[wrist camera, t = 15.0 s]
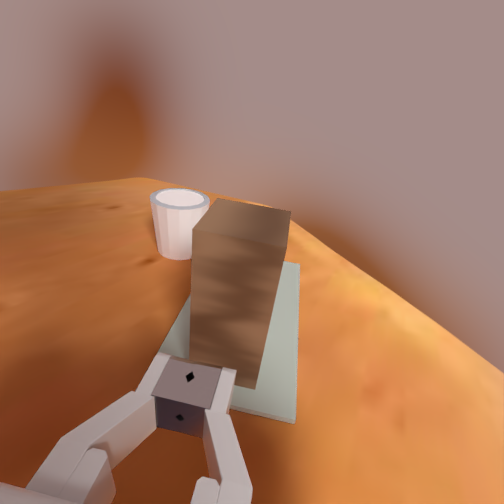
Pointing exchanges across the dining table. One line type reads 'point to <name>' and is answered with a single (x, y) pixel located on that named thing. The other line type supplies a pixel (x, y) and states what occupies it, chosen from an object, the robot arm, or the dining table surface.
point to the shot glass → (177, 220)
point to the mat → (274, 356)
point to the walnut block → (235, 284)
